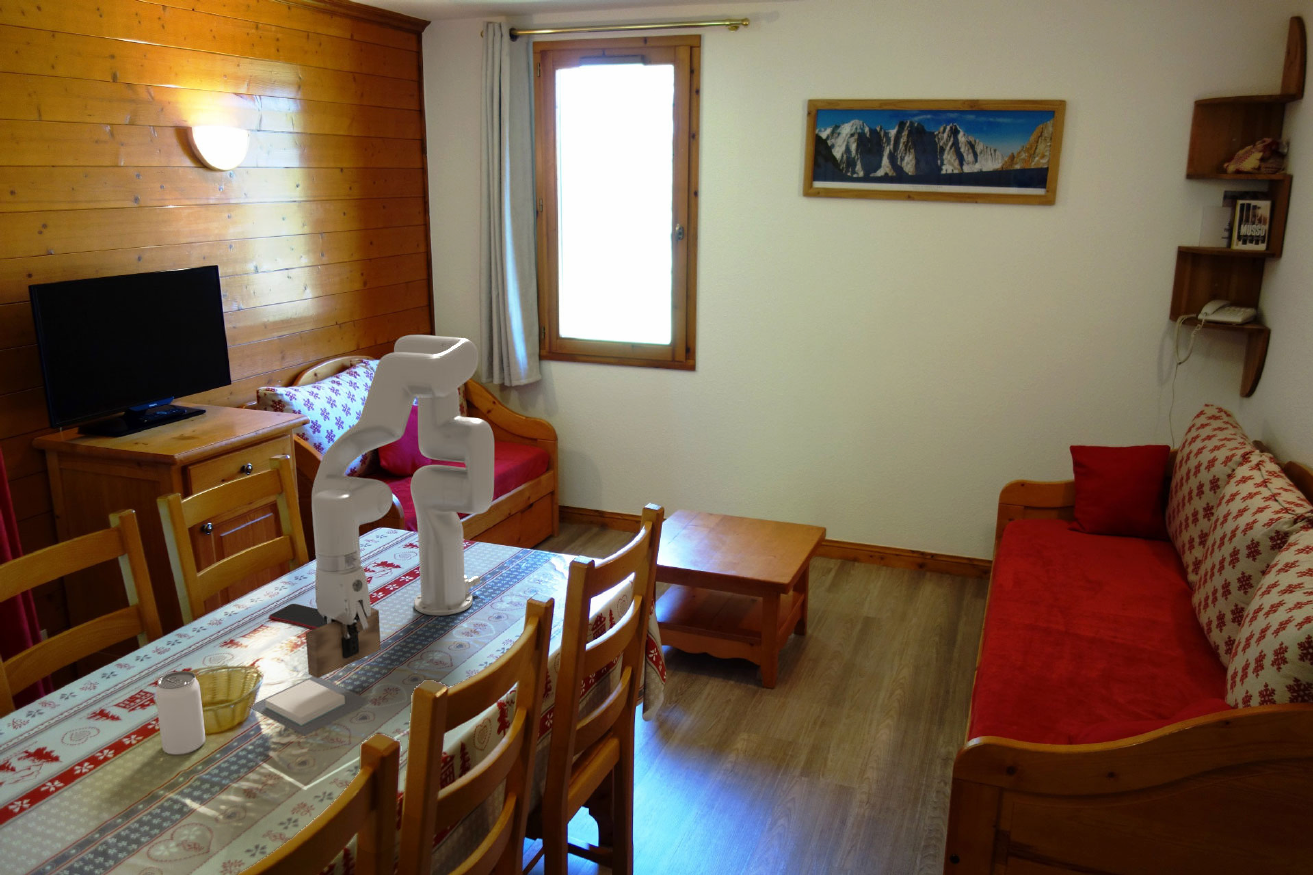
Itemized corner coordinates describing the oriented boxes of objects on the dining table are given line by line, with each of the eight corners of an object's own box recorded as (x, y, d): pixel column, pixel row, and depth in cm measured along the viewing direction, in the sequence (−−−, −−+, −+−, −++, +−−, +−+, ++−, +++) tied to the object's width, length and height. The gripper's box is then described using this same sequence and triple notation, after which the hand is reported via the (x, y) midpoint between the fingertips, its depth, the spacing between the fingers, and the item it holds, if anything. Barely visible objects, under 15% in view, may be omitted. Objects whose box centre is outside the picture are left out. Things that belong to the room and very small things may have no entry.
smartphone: (292, 602, 216) (346, 615, 210) (292, 606, 216) (347, 619, 210) (267, 615, 209) (322, 628, 204) (267, 619, 210) (322, 632, 204)
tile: (309, 679, 180) (265, 699, 173) (344, 695, 175) (300, 717, 168) (309, 687, 181) (266, 707, 174) (345, 704, 175) (301, 726, 168)
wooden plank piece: (371, 645, 187) (369, 606, 185) (380, 649, 185) (378, 610, 183) (308, 674, 175) (305, 632, 174) (317, 678, 174) (314, 636, 172)
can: (177, 760, 158) (169, 693, 155) (154, 748, 162) (145, 682, 159) (214, 742, 164) (206, 676, 161) (190, 730, 167) (182, 665, 164)
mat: (315, 676, 185) (315, 675, 185) (371, 703, 176) (371, 701, 176) (248, 708, 174) (248, 706, 174) (304, 737, 165) (304, 735, 165)
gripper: (385, 562, 174) (391, 657, 179) (327, 542, 183) (334, 633, 187) (350, 576, 168) (357, 674, 173) (292, 554, 177) (300, 648, 181)
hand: (345, 652), depth 180 cm, fingers closed on wooden plank piece, 2 cm apart
